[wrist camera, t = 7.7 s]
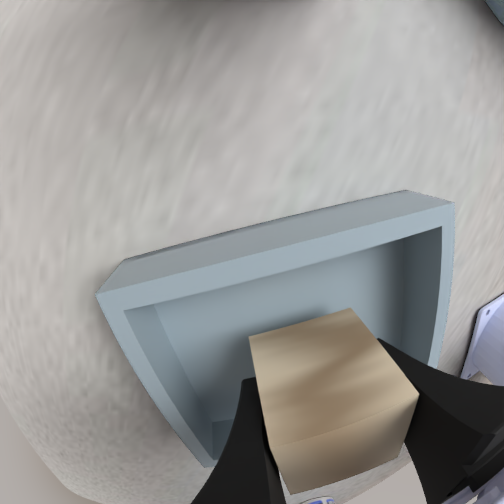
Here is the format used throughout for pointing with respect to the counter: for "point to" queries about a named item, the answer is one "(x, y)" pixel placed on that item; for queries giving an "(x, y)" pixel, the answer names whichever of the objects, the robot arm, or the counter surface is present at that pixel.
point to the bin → (277, 299)
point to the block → (330, 399)
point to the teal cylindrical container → (497, 8)
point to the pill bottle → (320, 501)
